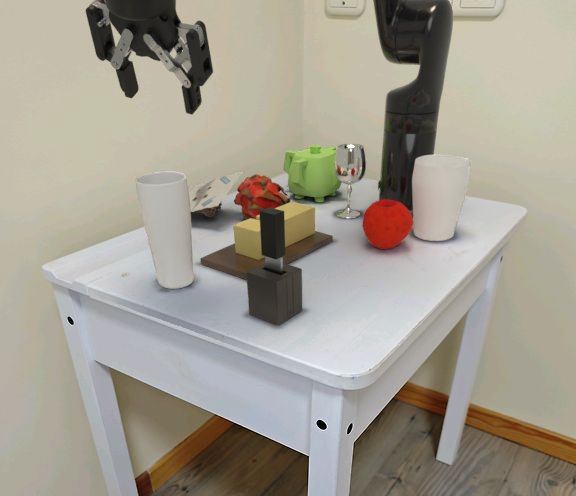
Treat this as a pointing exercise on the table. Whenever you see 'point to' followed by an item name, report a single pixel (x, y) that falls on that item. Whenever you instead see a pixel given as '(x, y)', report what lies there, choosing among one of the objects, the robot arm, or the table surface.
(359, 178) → the wineglass
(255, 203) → the dragon fruit
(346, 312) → the table surface
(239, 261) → the butter board
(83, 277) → the table surface
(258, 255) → the butter slice
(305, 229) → the butter block
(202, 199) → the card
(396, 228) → the apple
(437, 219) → the cup
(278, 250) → the knife
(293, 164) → the teapot
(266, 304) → the knife block
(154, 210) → the white tall tumbler
